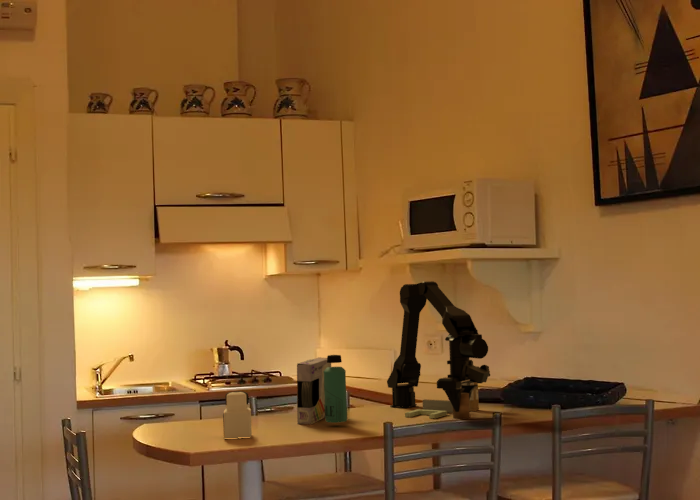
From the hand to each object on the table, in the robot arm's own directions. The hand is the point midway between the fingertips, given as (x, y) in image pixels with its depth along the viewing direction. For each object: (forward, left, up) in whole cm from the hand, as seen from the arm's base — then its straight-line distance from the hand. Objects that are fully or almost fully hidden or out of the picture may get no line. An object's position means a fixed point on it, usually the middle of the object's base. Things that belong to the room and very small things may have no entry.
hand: (461, 410), depth 280 cm
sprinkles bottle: (-4, +15, -2) cm, 16 cm away
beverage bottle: (-25, -28, -2) cm, 38 cm away
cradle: (-11, -1, -2) cm, 11 cm away
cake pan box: (-38, -20, -2) cm, 43 cm away
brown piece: (0, 0, -2) cm, 2 cm away
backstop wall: (-12, +9, -2) cm, 14 cm away
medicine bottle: (-39, -54, -2) cm, 67 cm away
